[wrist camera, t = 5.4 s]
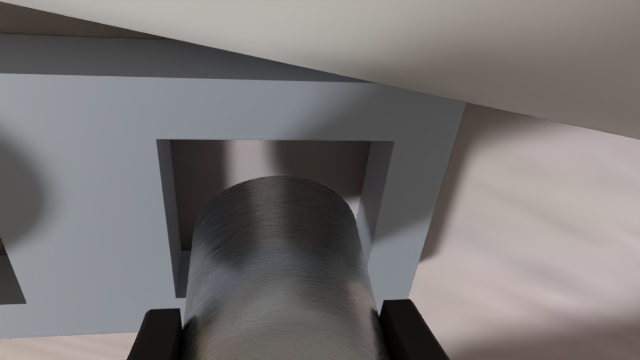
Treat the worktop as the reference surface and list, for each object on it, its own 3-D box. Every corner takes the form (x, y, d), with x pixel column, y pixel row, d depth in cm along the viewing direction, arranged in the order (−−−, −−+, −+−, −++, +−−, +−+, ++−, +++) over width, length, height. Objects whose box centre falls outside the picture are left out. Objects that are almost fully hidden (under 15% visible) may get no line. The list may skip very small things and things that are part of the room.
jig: (388, 275, 19) (401, 320, 18) (-190, 294, 16) (-234, 349, 15) (445, 49, 14) (472, 85, 12) (-408, 18, 11) (-514, 60, 9)
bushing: (353, 286, 16) (411, 566, 10) (204, 299, 15) (182, 597, 10) (361, 170, 13) (448, 468, 7) (180, 182, 12) (130, 506, 7)
